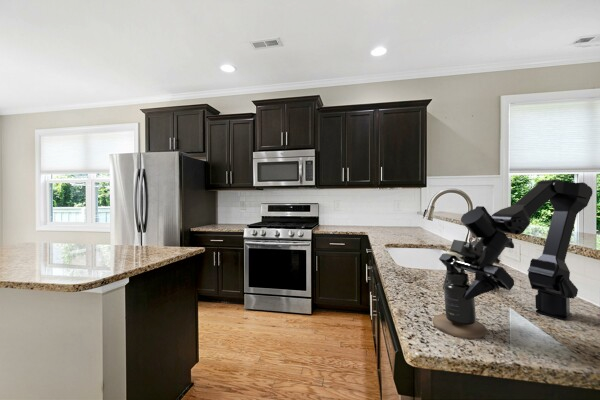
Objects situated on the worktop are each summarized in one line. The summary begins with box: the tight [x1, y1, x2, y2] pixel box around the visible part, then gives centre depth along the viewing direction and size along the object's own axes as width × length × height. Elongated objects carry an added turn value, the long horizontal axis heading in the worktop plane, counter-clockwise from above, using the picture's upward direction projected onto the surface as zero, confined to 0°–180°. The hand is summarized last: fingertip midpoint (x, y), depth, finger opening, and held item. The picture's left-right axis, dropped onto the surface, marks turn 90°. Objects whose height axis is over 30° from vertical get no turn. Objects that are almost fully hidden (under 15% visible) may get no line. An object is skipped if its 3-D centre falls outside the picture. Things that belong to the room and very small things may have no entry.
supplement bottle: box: [443, 272, 477, 325], centre depth 71 cm, size 7×7×12 cm
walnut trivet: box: [432, 313, 487, 339], centre depth 71 cm, size 12×12×1 cm
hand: (454, 294), depth 70 cm, fingers closed on supplement bottle, 7 cm apart
